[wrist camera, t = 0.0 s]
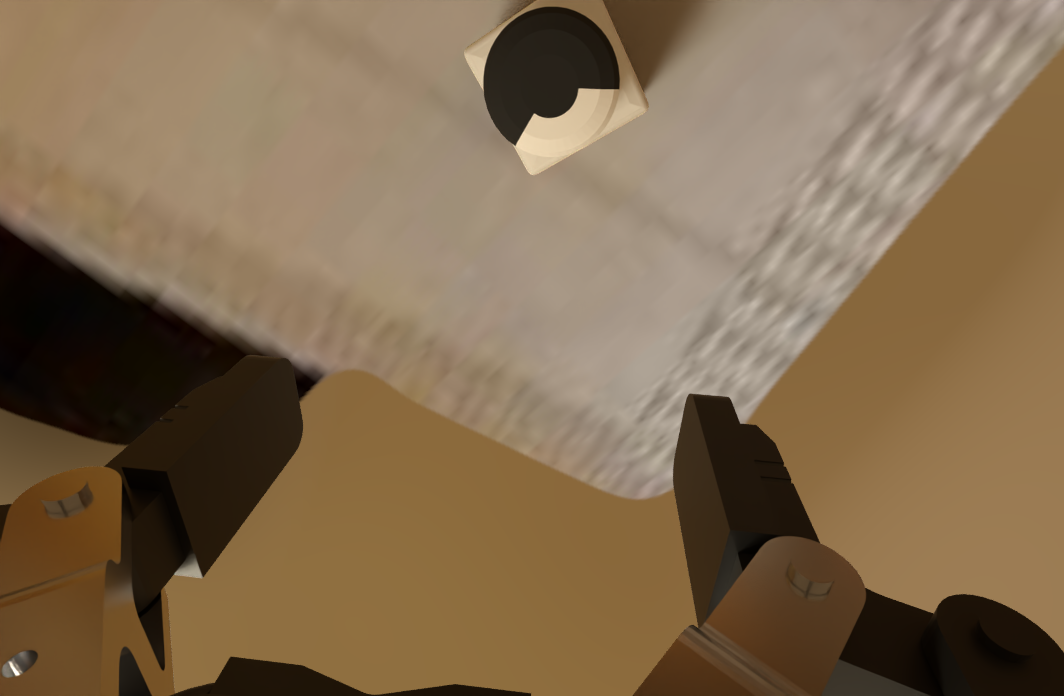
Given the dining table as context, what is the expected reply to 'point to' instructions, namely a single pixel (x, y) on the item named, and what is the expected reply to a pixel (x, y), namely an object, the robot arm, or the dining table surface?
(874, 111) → the dining table surface
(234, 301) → the dining table surface
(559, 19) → the medicine bottle
